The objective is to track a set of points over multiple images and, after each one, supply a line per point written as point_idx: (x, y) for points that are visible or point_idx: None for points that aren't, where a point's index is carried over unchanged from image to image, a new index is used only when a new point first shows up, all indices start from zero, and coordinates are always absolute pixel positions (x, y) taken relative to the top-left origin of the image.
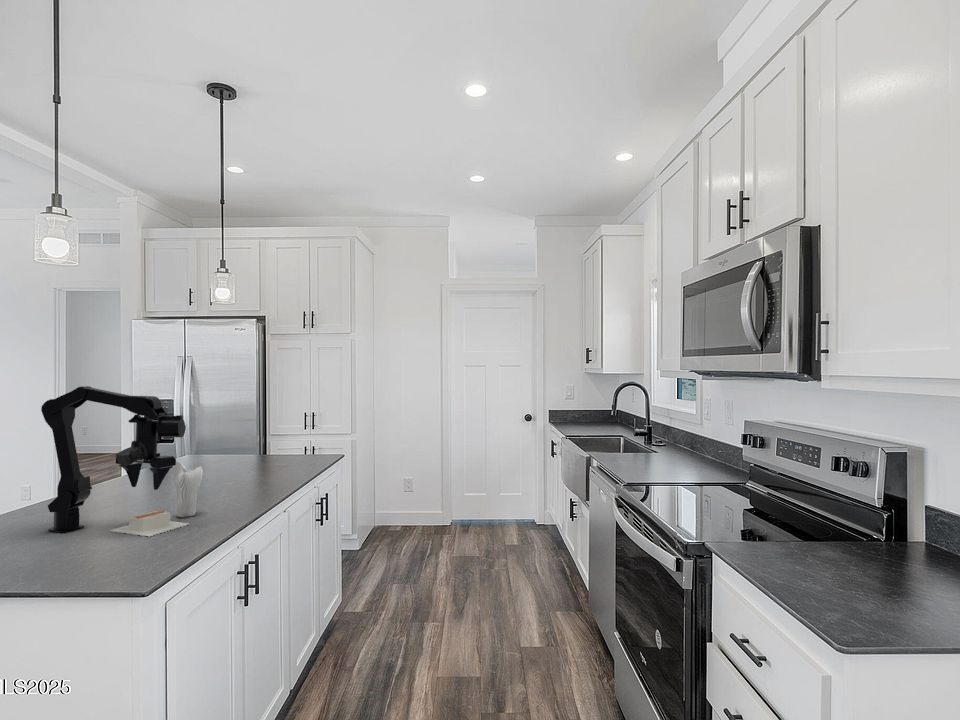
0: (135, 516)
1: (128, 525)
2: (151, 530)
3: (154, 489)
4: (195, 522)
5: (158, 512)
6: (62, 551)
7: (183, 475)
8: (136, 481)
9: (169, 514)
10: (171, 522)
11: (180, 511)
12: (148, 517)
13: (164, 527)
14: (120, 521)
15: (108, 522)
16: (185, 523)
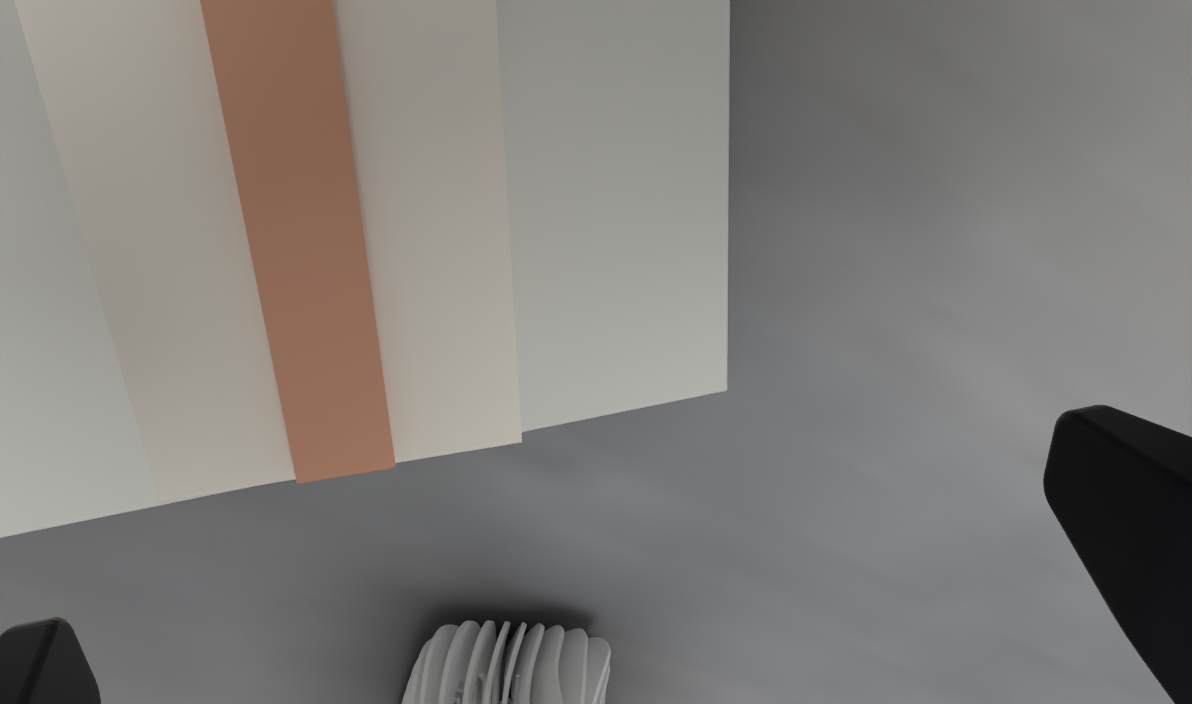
0: (451, 4)
1: (706, 20)
2: (13, 13)
3: (37, 623)
4: None
5: (270, 368)
6: None
7: None
8: (1142, 615)
9: (157, 467)
10: None
11: (470, 677)
12: (110, 91)
13: (33, 239)
14: (1053, 139)
15: (1171, 23)
16: (18, 519)
